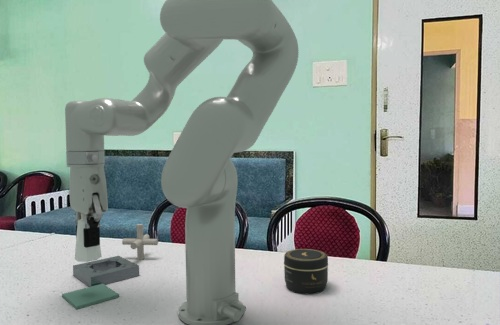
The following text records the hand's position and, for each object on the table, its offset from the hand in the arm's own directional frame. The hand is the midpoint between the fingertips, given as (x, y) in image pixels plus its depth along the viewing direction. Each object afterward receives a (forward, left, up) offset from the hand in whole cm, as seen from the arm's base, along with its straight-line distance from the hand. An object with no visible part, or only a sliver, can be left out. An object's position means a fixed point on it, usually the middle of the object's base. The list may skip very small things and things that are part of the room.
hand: (88, 243), depth 84 cm
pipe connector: (+18, -21, -12) cm, 30 cm away
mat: (0, 0, -12) cm, 12 cm away
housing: (+11, -8, -12) cm, 18 cm away
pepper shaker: (0, 0, -3) cm, 3 cm away
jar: (-29, -38, -12) cm, 49 cm away
